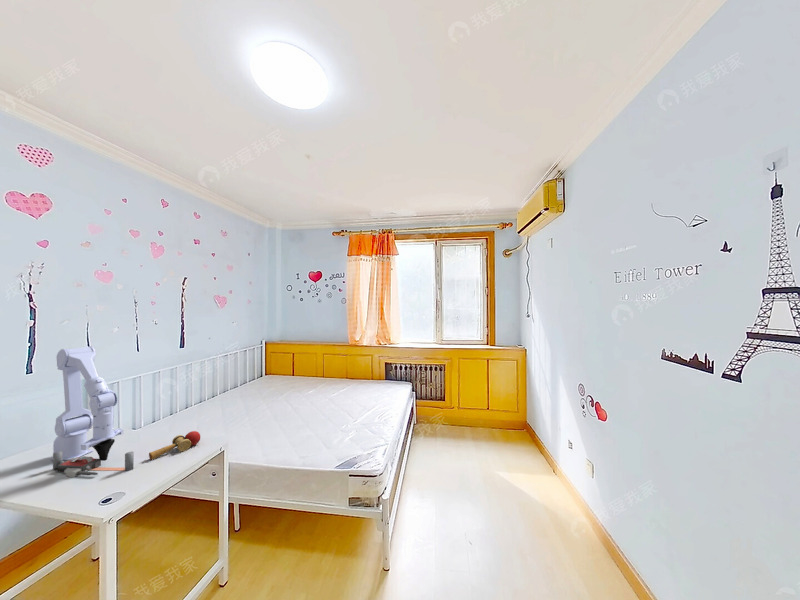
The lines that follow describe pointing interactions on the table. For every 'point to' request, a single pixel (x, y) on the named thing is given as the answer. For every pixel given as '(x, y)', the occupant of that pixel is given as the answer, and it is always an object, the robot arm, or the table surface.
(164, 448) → the kendama
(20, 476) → the table surface
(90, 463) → the walkie-talkie
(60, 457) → the finish line
